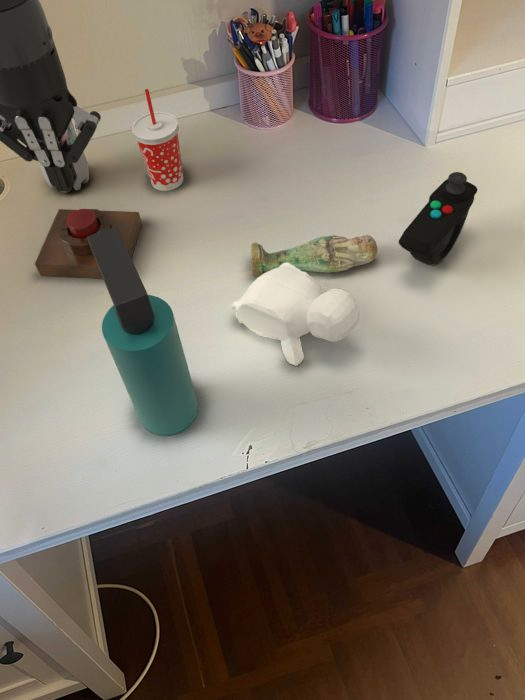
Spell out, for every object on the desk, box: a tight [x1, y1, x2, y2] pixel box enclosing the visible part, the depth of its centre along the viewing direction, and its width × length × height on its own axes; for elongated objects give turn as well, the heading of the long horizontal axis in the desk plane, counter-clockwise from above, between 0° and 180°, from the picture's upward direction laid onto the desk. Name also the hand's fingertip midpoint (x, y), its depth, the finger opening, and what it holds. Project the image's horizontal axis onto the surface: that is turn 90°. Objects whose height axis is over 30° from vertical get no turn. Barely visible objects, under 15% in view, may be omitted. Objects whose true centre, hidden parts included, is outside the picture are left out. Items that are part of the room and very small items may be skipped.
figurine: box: [250, 234, 378, 277], centre depth 80 cm, size 6×15×4 cm, turn 86°
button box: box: [34, 208, 143, 280], centre depth 84 cm, size 11×10×4 cm
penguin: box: [230, 263, 360, 367], centre depth 72 cm, size 9×8×15 cm
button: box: [67, 208, 99, 239], centre depth 82 cm, size 4×4×2 cm
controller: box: [398, 171, 478, 266], centre depth 77 cm, size 4×12×10 cm, turn 142°
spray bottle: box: [87, 227, 199, 436], centre depth 63 cm, size 11×6×20 cm, turn 24°
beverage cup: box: [131, 88, 185, 192], centre depth 87 cm, size 6×6×14 cm
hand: (66, 186), depth 77 cm, fingers closed
